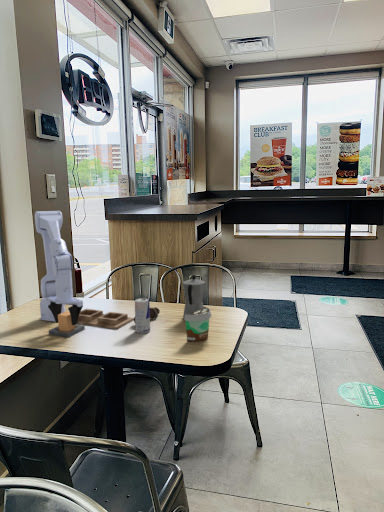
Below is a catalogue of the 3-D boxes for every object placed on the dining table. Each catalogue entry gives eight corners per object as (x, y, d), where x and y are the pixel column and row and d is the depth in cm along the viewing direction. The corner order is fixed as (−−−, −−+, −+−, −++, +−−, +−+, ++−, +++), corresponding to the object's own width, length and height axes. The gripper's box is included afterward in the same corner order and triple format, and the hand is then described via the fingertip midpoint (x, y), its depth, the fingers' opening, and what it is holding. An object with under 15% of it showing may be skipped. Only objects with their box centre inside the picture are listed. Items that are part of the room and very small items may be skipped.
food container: (200, 346, 128) (199, 317, 126) (184, 342, 131) (184, 314, 130) (217, 334, 138) (217, 308, 137) (202, 331, 142) (202, 305, 140)
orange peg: (59, 333, 142) (57, 314, 141) (66, 329, 145) (65, 311, 144) (67, 334, 140) (66, 316, 139) (75, 330, 144) (73, 312, 143)
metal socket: (48, 334, 141) (48, 330, 140) (65, 326, 149) (65, 322, 148) (68, 337, 137) (68, 333, 137) (84, 329, 145) (84, 325, 145)
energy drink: (152, 329, 144) (151, 298, 142) (146, 334, 139) (145, 302, 138) (139, 328, 146) (138, 297, 144) (133, 332, 141) (131, 301, 139)
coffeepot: (186, 312, 165) (185, 271, 162) (208, 313, 163) (208, 272, 160) (177, 324, 150) (177, 279, 147) (201, 325, 148) (201, 280, 145)
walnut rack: (66, 321, 154) (66, 315, 154) (85, 313, 165) (85, 307, 165) (117, 329, 145) (116, 322, 144) (134, 319, 156) (133, 313, 155)
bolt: (158, 319, 162) (141, 330, 148) (149, 312, 163) (131, 322, 149) (164, 308, 160) (148, 318, 146) (155, 301, 162) (137, 310, 148)
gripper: (40, 288, 139) (43, 324, 141) (72, 291, 134) (75, 329, 136) (54, 284, 146) (57, 318, 148) (85, 287, 140) (87, 323, 142)
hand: (66, 323), depth 142 cm, fingers open, 7 cm apart
